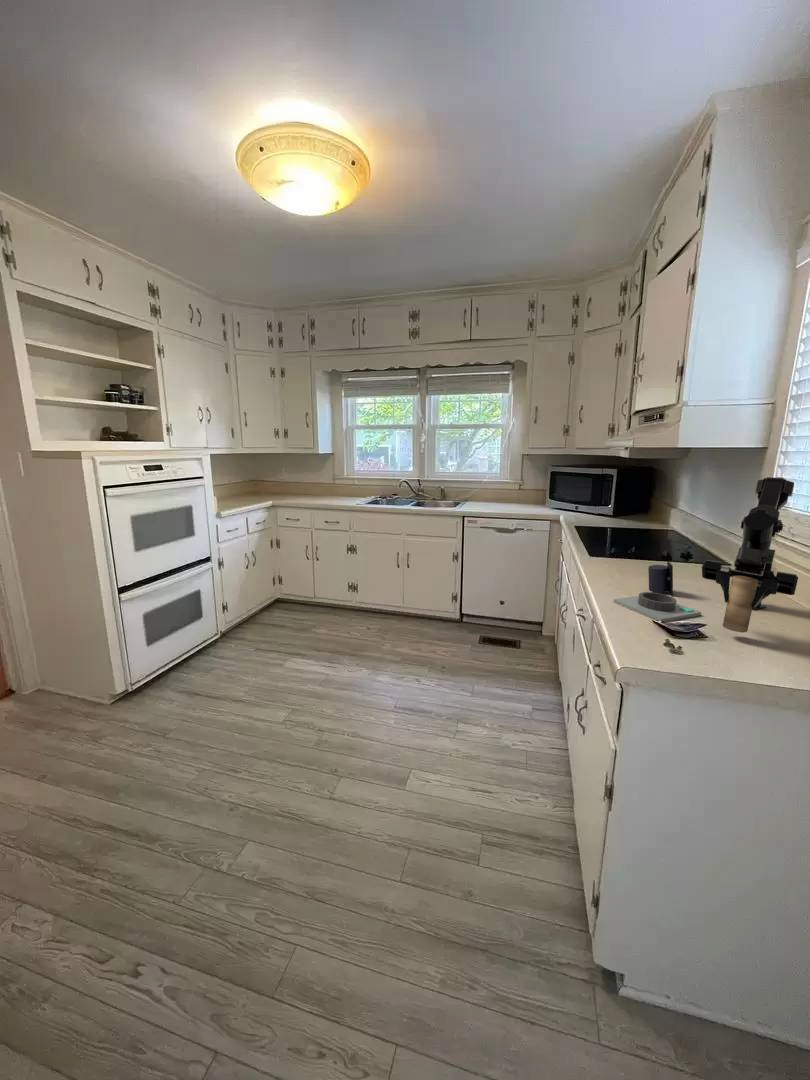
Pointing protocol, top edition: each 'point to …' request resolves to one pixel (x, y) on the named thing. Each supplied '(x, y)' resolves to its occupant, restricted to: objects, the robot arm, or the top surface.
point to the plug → (740, 603)
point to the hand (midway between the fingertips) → (739, 604)
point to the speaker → (661, 578)
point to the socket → (657, 606)
